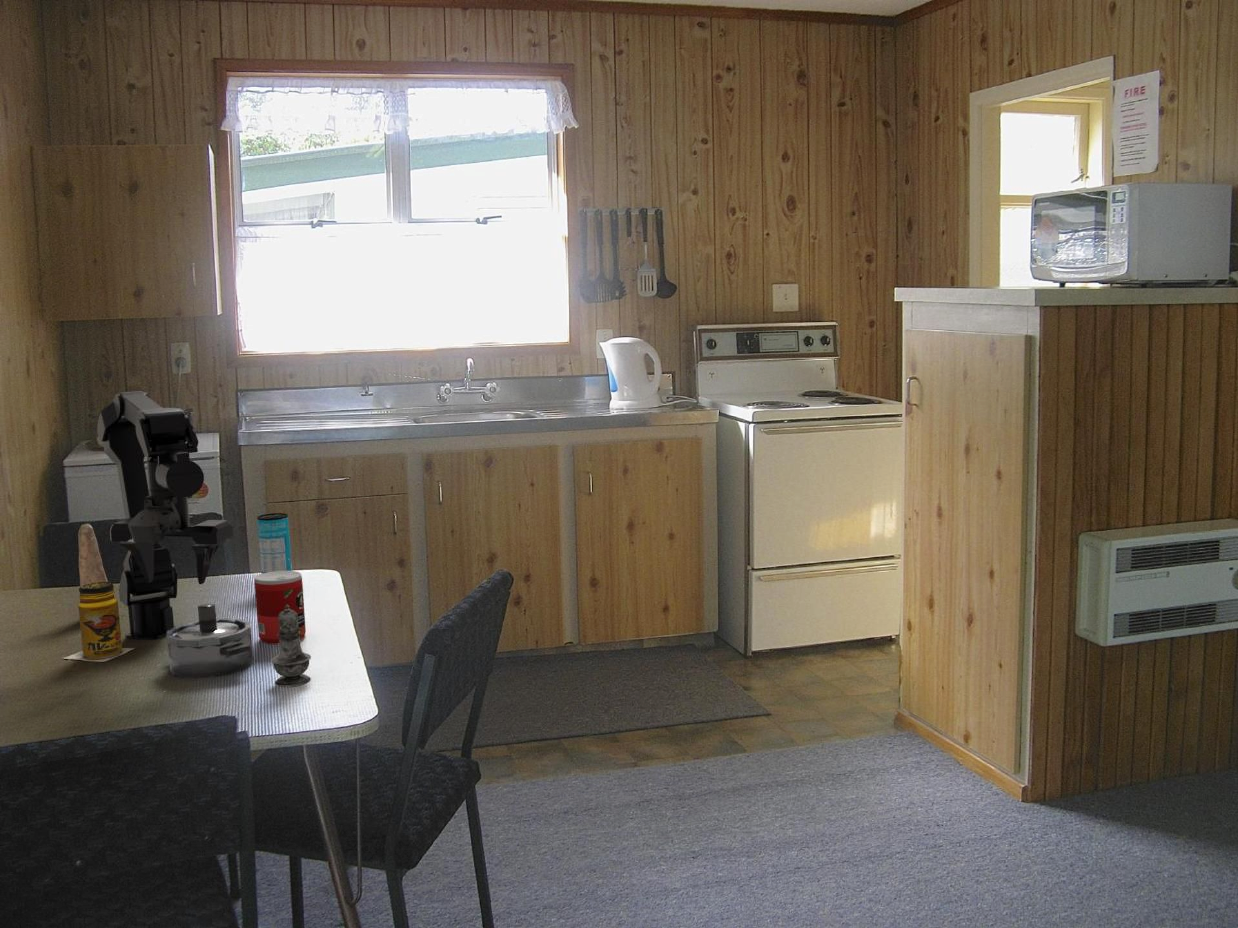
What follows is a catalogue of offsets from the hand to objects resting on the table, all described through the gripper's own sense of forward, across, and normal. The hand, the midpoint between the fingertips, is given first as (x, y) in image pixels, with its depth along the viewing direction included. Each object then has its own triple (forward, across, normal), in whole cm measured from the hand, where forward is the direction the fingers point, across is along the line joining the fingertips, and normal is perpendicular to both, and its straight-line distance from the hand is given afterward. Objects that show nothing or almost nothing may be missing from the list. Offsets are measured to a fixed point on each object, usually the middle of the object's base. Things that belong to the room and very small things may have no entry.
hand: (175, 582), depth 199 cm
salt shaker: (+12, +24, -10) cm, 29 cm away
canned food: (+13, +12, +12) cm, 21 cm away
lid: (+7, +8, -4) cm, 11 cm away
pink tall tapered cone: (+14, -30, +23) cm, 40 cm away
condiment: (+13, -15, 0) cm, 20 cm away
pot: (+12, +8, -4) cm, 15 cm away
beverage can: (+14, -6, +45) cm, 48 cm away
